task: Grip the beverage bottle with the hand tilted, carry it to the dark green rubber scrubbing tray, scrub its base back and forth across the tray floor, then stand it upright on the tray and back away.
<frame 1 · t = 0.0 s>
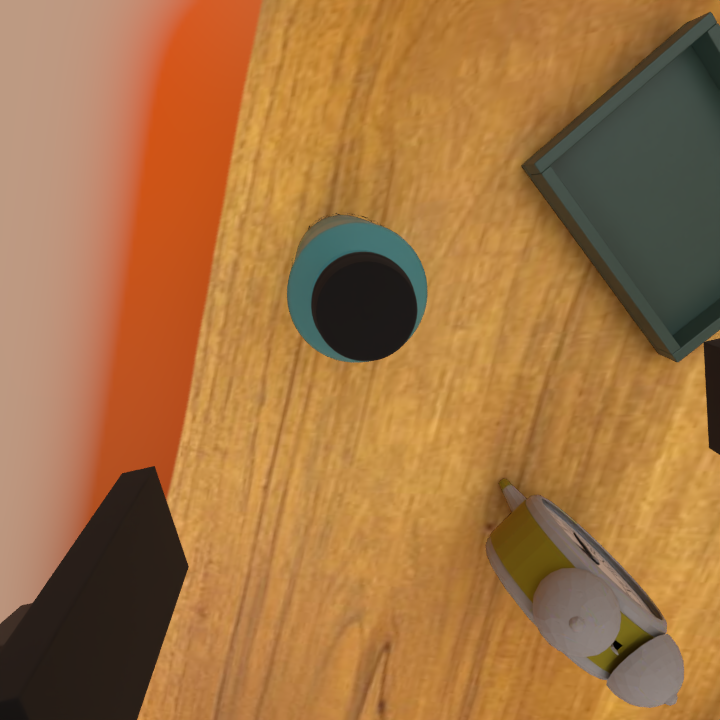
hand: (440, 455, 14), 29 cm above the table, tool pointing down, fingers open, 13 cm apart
beverage bottle: (341, 259, 41), on the table
alarm clock: (526, 529, 48), on the table
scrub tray: (671, 200, 42), on the table
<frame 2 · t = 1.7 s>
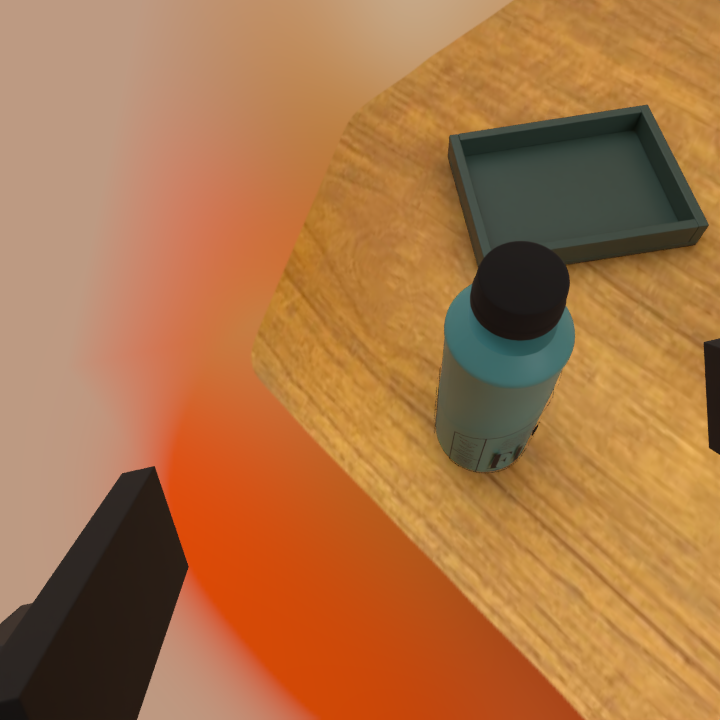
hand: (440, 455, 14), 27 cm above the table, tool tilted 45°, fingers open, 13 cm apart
beverage bottle: (477, 437, 43), on the table
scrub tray: (564, 198, 52), on the table
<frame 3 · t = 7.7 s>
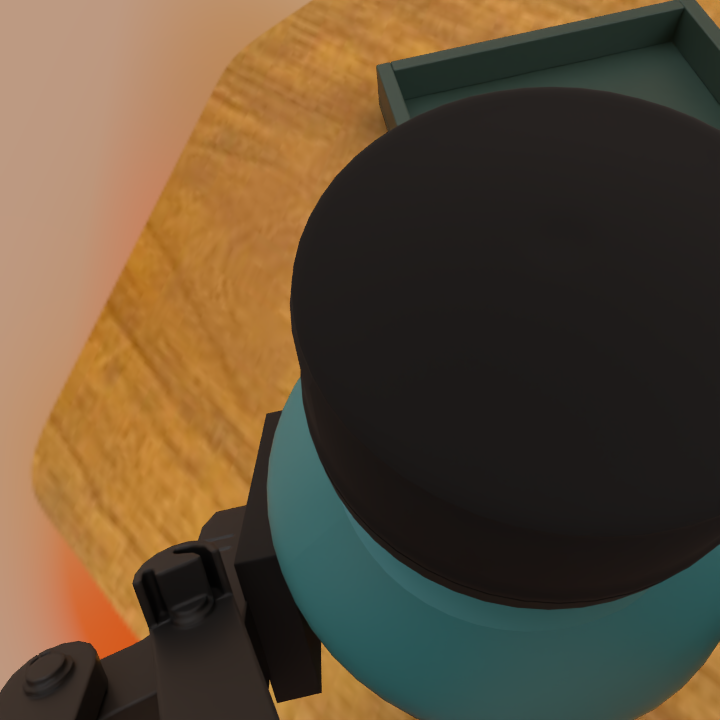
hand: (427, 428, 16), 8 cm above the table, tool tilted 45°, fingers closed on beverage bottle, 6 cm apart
beverage bottle: (450, 608, 22), on the table, touching gripper
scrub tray: (571, 152, 31), on the table
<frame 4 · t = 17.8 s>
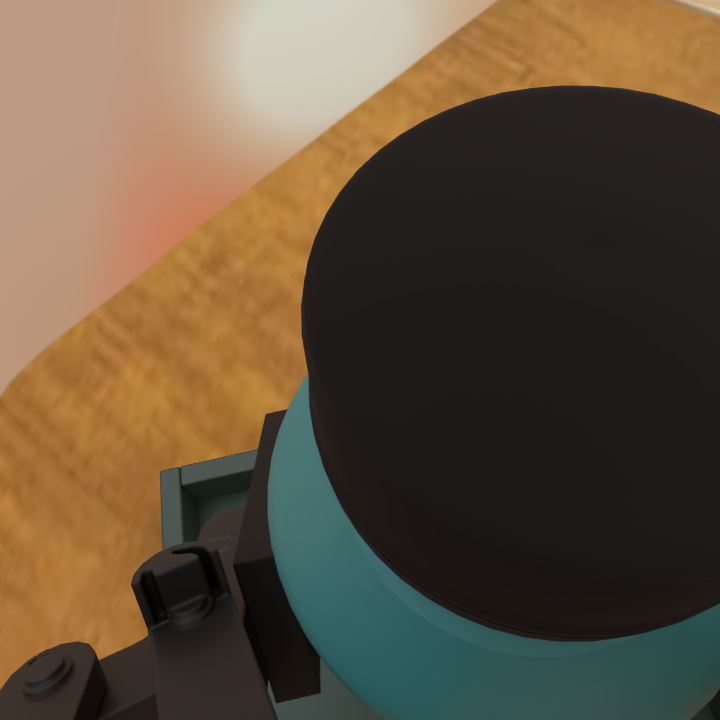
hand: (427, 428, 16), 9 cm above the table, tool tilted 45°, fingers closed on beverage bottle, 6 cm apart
beverage bottle: (447, 609, 21), resting on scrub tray, touching gripper
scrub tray: (430, 616, 22), on the table
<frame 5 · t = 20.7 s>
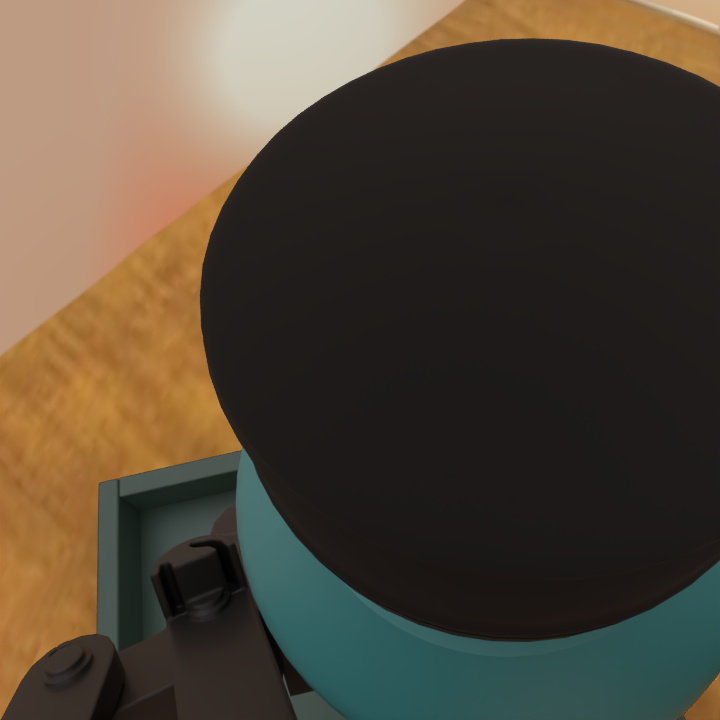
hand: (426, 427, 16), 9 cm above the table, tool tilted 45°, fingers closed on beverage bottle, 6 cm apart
beverage bottle: (462, 604, 21), point 1 cm above the table, touching gripper
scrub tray: (366, 627, 22), on the table
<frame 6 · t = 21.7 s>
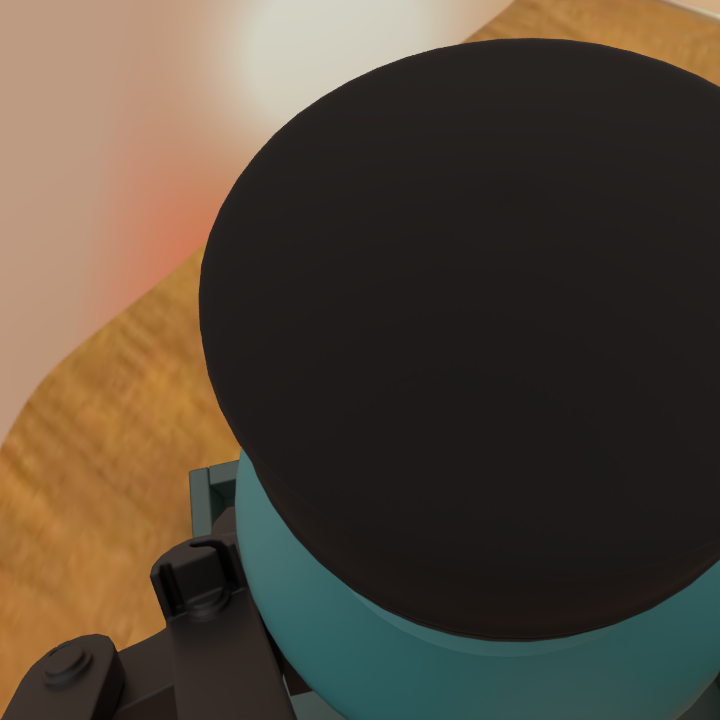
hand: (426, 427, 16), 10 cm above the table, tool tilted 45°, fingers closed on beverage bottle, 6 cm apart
beverage bottle: (462, 604, 21), point 2 cm above the table, touching gripper
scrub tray: (450, 610, 23), on the table
when the fingers open (8 cm above the table, at t = 22.5 s): beverage bottle stays where it is, resting on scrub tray.
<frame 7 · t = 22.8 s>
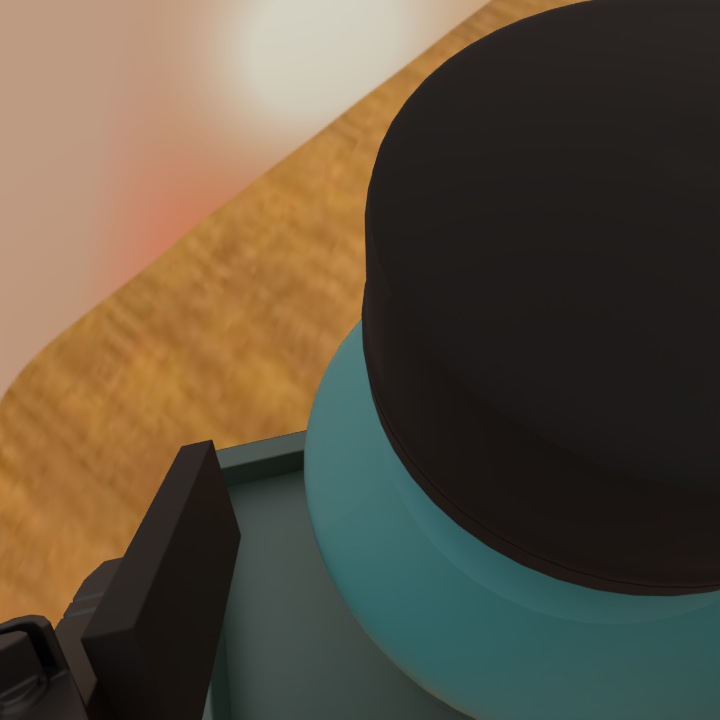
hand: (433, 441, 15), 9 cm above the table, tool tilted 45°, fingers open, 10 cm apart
beverage bottle: (471, 605, 21), resting on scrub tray
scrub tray: (452, 606, 21), on the table
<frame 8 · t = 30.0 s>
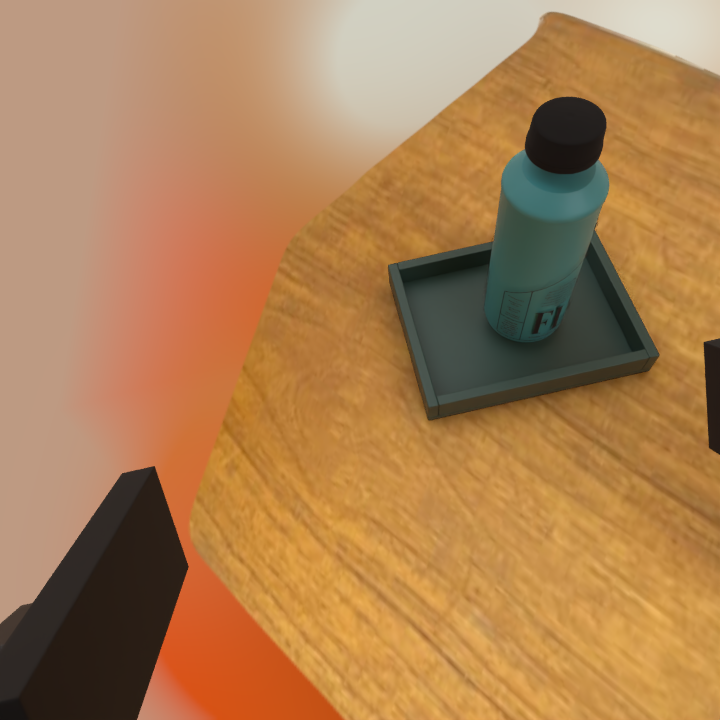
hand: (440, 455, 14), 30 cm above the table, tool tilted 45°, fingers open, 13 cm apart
beverage bottle: (519, 321, 49), resting on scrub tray
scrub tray: (510, 323, 50), on the table
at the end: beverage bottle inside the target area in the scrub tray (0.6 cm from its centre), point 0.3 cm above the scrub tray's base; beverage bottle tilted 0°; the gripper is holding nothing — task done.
